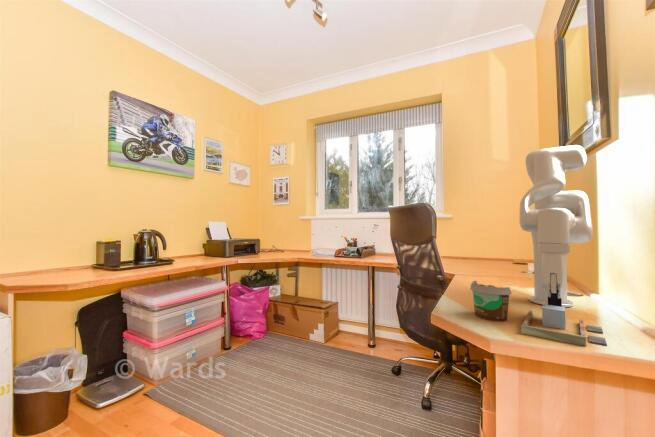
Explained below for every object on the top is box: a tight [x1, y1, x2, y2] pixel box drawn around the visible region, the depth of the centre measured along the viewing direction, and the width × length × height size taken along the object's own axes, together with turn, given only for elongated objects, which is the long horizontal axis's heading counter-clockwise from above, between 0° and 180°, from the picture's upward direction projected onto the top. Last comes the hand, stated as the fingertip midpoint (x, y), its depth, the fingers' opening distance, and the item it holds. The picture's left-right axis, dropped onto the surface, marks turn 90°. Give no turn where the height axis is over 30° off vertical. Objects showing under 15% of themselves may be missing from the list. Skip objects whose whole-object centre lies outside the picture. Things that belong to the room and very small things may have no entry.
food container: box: [469, 280, 512, 322], centre depth 89 cm, size 12×6×10 cm, turn 23°
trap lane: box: [520, 310, 608, 347], centre depth 78 cm, size 20×16×2 cm
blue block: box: [541, 304, 567, 330], centre depth 82 cm, size 5×5×5 cm
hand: (554, 310), depth 86 cm, fingers closed
